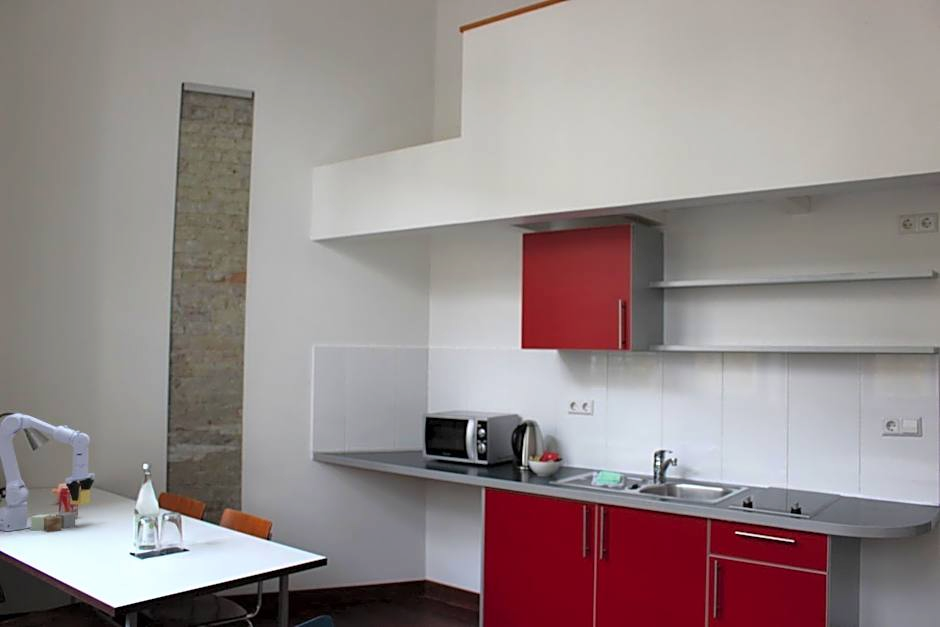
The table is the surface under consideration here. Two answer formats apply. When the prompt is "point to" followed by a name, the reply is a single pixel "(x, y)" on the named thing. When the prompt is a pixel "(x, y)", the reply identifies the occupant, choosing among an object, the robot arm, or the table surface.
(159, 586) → the table surface
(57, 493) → the teapot
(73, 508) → the soda can
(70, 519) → the slate block
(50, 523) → the walnut block
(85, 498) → the ochre block
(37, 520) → the pale green block
